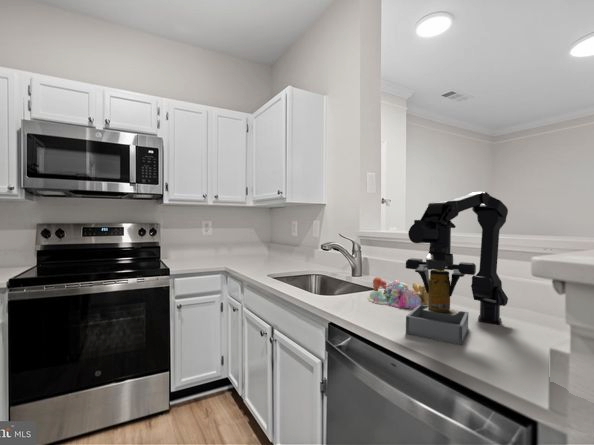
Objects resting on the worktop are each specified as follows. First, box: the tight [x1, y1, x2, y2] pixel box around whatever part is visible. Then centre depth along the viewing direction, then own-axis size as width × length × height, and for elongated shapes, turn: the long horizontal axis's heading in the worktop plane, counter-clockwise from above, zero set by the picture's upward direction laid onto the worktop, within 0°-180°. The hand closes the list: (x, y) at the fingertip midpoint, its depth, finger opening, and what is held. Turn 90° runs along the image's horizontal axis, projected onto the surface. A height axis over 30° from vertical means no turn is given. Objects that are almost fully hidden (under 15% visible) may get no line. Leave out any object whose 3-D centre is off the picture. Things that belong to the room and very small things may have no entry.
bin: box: [405, 304, 469, 346], centre depth 94 cm, size 17×15×5 cm
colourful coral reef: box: [367, 277, 428, 310], centre depth 129 cm, size 25×24×9 cm
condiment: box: [423, 269, 461, 315], centre depth 93 cm, size 7×8×12 cm
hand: (439, 294), depth 94 cm, fingers closed on condiment, 6 cm apart
